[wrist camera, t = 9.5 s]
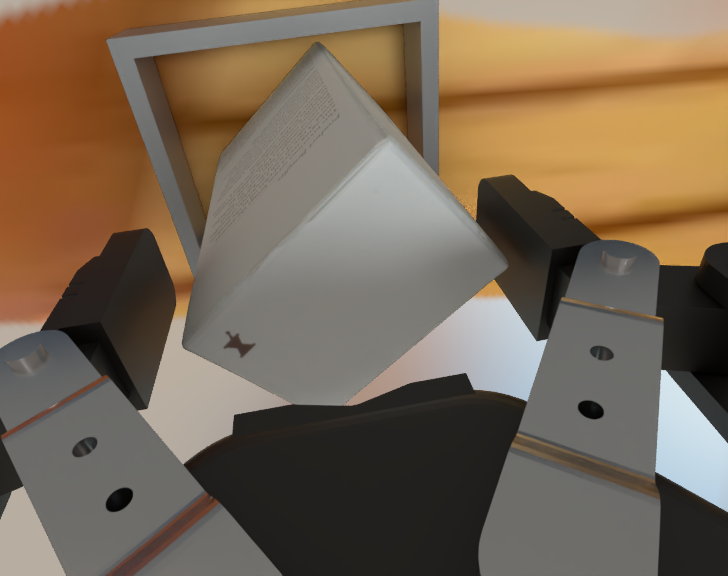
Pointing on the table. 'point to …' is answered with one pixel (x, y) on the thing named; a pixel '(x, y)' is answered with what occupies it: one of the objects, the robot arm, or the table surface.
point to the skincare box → (328, 244)
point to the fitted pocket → (372, 9)
